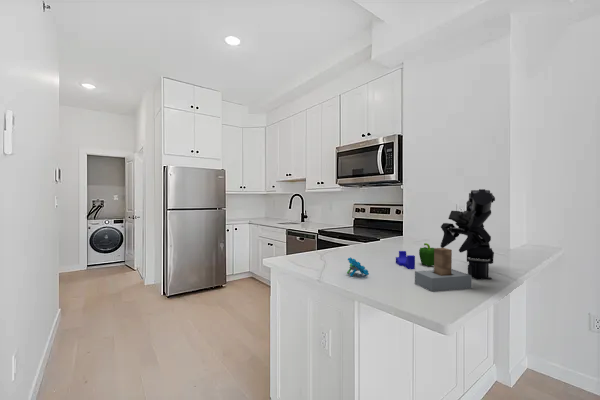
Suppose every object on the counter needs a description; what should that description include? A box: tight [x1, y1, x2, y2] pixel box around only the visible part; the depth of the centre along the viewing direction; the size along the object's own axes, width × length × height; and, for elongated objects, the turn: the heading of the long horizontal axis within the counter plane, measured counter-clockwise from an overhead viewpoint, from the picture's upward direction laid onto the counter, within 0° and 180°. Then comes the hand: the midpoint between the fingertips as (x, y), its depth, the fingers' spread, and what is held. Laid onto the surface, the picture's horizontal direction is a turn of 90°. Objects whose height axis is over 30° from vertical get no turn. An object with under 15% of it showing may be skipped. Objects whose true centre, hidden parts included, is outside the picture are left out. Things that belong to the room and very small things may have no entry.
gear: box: [346, 256, 370, 277], centre depth 120 cm, size 11×6×10 cm
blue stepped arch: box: [395, 250, 416, 270], centre depth 137 cm, size 12×4×6 cm, turn 1°
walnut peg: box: [433, 247, 453, 276], centre depth 106 cm, size 4×4×12 cm
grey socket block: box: [414, 268, 473, 293], centre depth 107 cm, size 16×10×4 cm, turn 104°
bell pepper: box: [418, 242, 435, 267], centre depth 139 cm, size 8×8×10 cm
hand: (450, 249), depth 107 cm, fingers open, 9 cm apart
